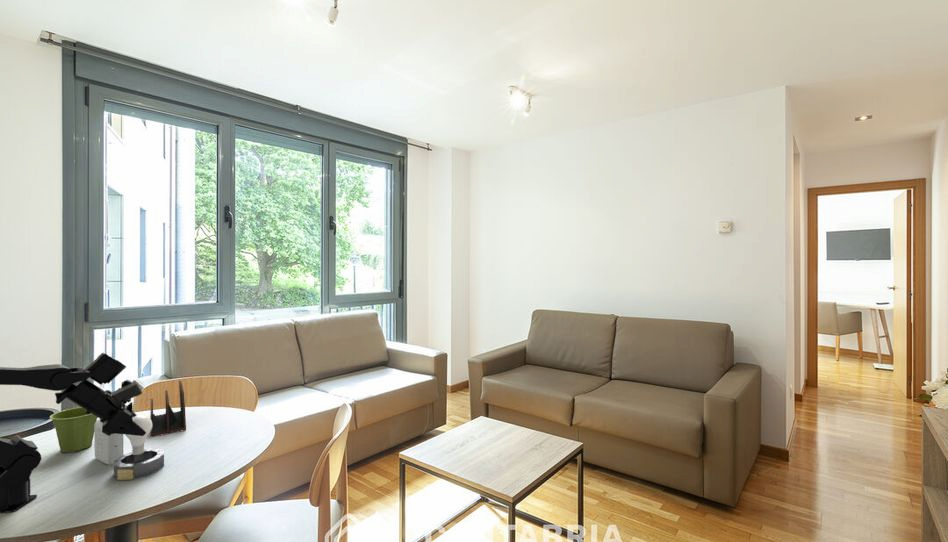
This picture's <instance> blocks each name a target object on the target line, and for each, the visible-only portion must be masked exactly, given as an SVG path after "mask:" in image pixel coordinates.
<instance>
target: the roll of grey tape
mask: <svg viewBox="0 0 948 542" xmlns="http://www.w3.org/2000/svg"><path fill="white" fill-rule="evenodd" d="M132 452H133V451H131V452H128V453H125V454H123V456H120V457H119V458H118V459H116V460H115V461H114V464H113V478H114V479H117V481H127V480H135V479H139V478H143V477H147V476H149V475H152V474H154V473H157V472H158V471H160V470H161V469H162V468H163V467H164V466H165V452H164V449H160V448H144V453H142V454H141V455H139V456H136V455H133V454H132Z"/></svg>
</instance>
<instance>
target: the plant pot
mask: <svg viewBox="0 0 948 542" xmlns="http://www.w3.org/2000/svg"><path fill="white" fill-rule="evenodd" d="M85 411H86V410H85V409H83V408H81V407H80V406H78V407H75V408H74V407H72V408H68V409H65V410H61V411H58V412H54V413H53V414H51V415H50V416H49V419H50V420H52V423H53V426H54V427H55V428H54V429H55V431H56V437H57V440H58V446H59V449H60V452H63V453H66V452H69V453H75V452H79V451H82V450H84V449H88V448H90V447H91V446H92V445H93V442H94V441H93V439H94V425H95V422H96V421H97V420H98V419H99V418H98V417H96V416H95V415H93V414H91V413H90V414H87V413H85Z"/></svg>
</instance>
